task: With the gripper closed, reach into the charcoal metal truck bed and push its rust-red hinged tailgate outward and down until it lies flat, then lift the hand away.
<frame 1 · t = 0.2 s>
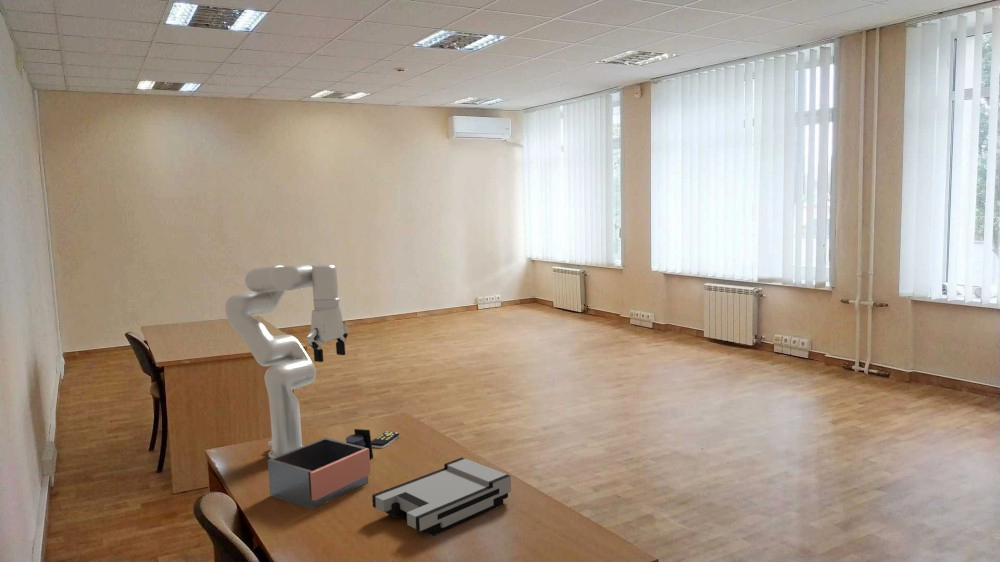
hand: (330, 358, 225), 36 cm above the table, tool pointing down, fingers open, 9 cm apart
remote control: (384, 443, 254), on the table
game console: (443, 512, 197), on the table
tailgate: (341, 473, 208), point 7 cm above the table, hinge at 0.0°
speaker: (359, 461, 235), on the table
truck bed: (320, 489, 214), on the table
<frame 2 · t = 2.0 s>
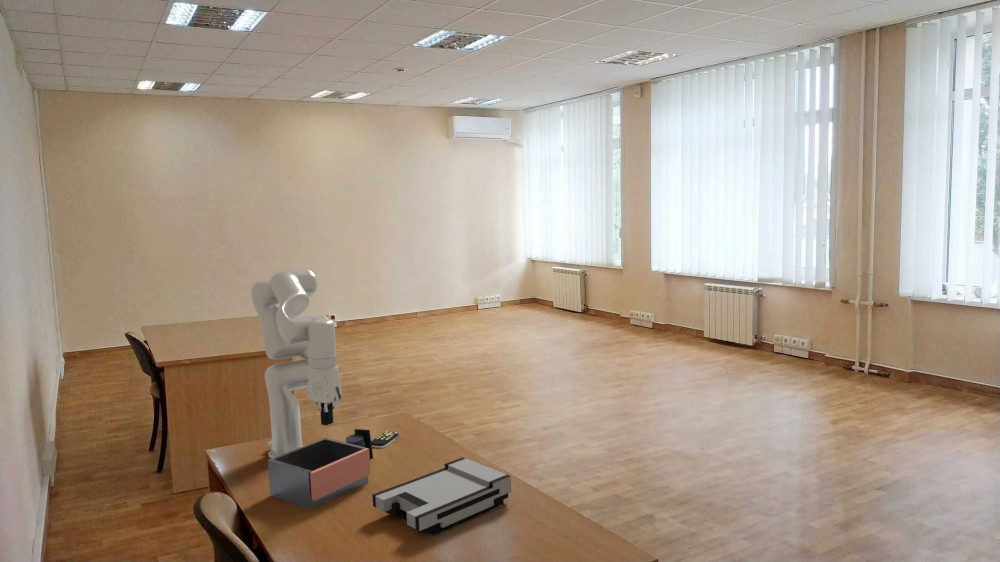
hand: (327, 423, 209), 21 cm above the table, tool pointing down, fingers closed
nothing on the table moved.
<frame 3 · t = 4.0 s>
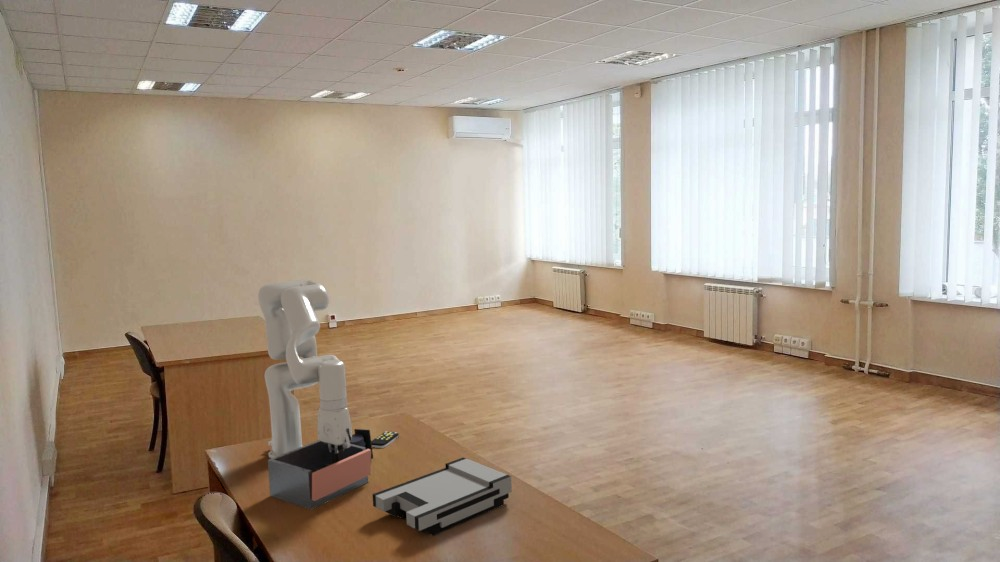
hand: (337, 464, 208), 9 cm above the table, tool pointing down, fingers closed
tailgate: (342, 473, 207), point 7 cm above the table, hinge at 6.1°, touching gripper
everything else where it was.
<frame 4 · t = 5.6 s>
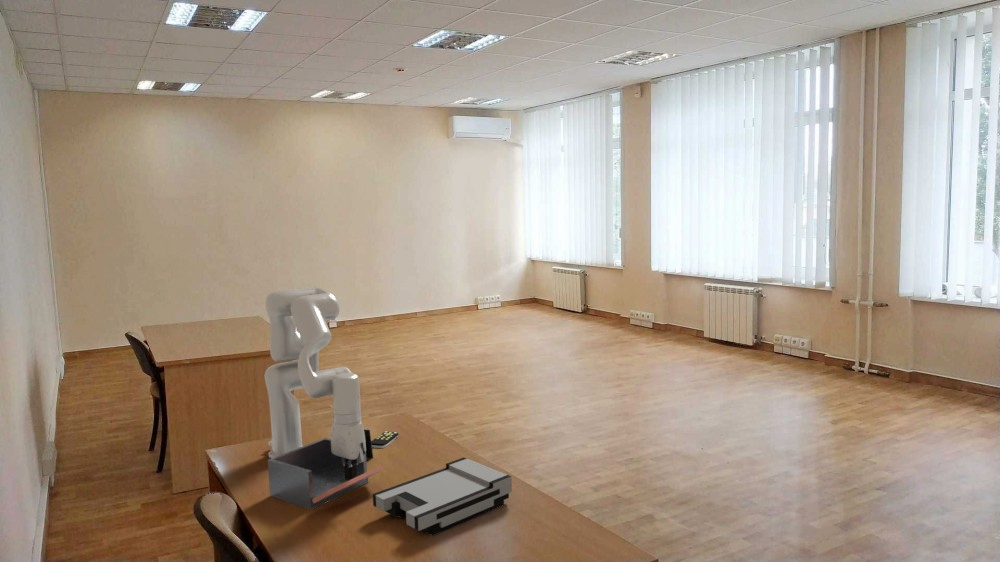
hand: (350, 478, 206), 6 cm above the table, tool pointing down, fingers closed
tailgate: (349, 483, 206), point 5 cm above the table, hinge at 58.1°, touching gripper
everything else where it was.
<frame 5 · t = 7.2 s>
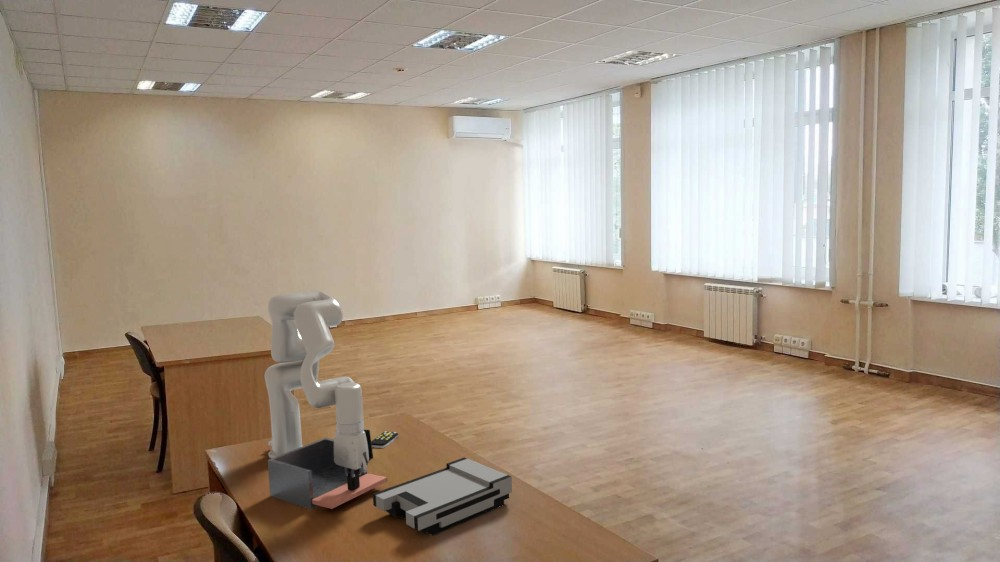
hand: (353, 488, 205), 3 cm above the table, tool pointing down, fingers closed
tailgate: (350, 490, 206), point 3 cm above the table, hinge at 86.9°
everything else where it was.
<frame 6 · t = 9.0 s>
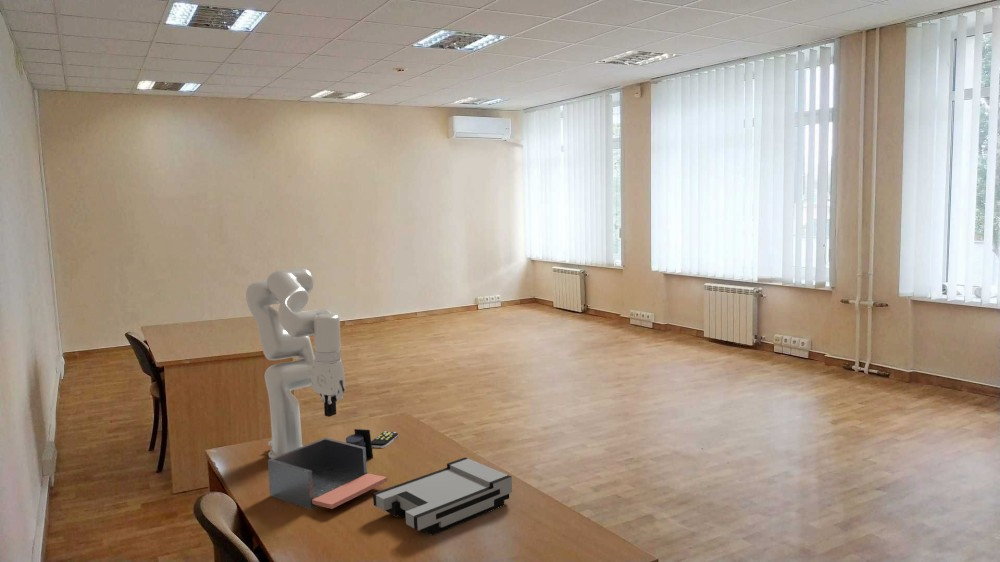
hand: (330, 414, 214), 22 cm above the table, tool pointing down, fingers closed
nothing on the table moved.
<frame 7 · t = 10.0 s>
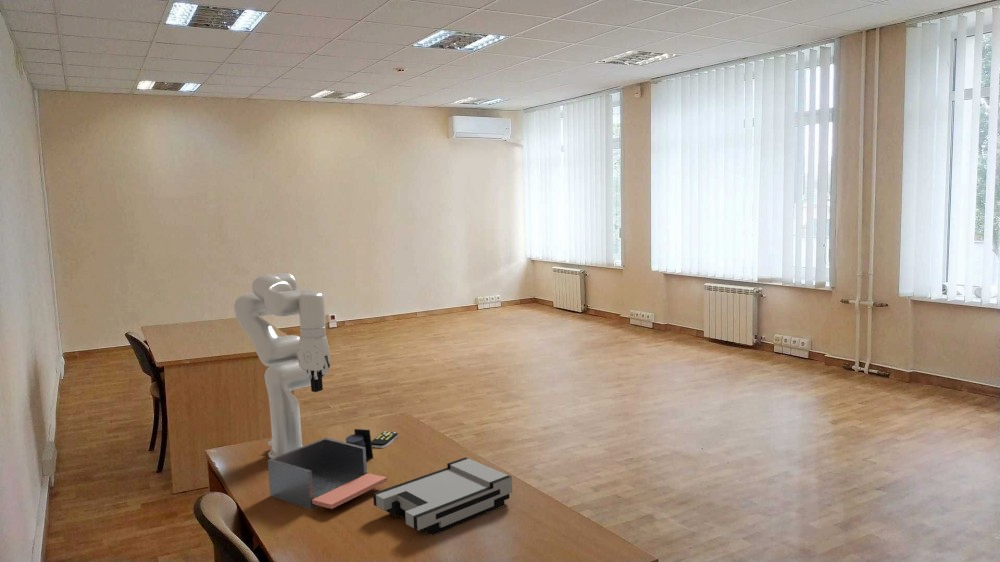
hand: (317, 390, 222), 27 cm above the table, tool pointing down, fingers closed
nothing on the table moved.
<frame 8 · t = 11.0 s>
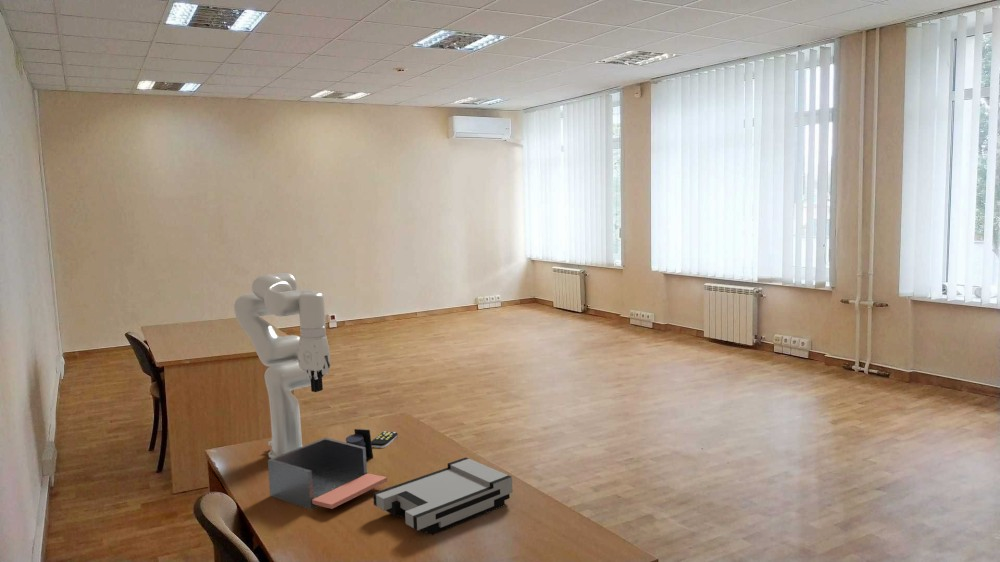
hand: (317, 390, 222), 27 cm above the table, tool pointing down, fingers closed
nothing on the table moved.
at the end: tailgate at +87° (first picture: +0°) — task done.
